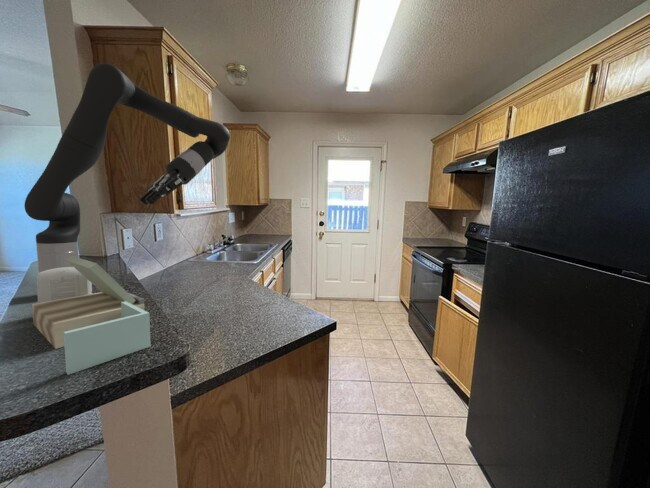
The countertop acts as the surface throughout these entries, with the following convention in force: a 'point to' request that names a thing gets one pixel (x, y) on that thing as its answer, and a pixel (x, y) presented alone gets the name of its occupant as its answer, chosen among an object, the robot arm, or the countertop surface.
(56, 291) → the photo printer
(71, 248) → the robot arm
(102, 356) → the l-shaped corner panel
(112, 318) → the block
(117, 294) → the sage green flat slab
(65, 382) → the countertop surface
